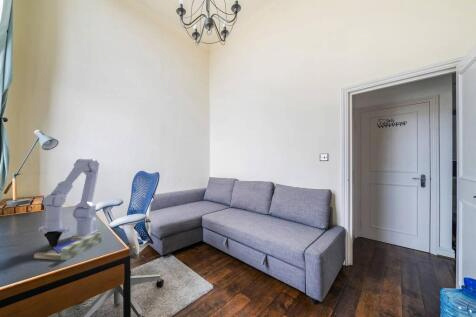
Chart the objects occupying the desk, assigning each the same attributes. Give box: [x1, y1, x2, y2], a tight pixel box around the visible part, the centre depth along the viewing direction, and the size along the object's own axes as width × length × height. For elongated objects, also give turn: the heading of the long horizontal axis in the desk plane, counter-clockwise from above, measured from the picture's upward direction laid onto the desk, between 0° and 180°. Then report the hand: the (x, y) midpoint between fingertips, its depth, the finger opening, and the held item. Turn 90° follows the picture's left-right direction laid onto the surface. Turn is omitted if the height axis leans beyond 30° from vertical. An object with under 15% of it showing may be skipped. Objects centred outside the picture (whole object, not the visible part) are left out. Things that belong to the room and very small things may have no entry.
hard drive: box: [52, 240, 76, 254], centre depth 96 cm, size 2×8×12 cm
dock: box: [33, 231, 102, 261], centre depth 95 cm, size 19×16×5 cm
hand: (53, 246), depth 96 cm, fingers closed, pressing on hard drive
